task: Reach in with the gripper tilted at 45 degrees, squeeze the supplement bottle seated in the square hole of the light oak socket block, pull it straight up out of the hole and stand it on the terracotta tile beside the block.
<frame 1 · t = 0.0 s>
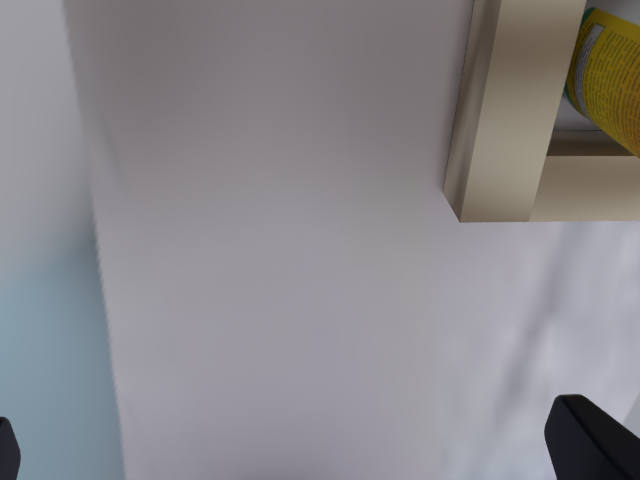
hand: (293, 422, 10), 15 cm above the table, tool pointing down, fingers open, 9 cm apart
socket block: (622, 48, 22), on the table
supplement bottle: (619, 47, 22), resting in socket block
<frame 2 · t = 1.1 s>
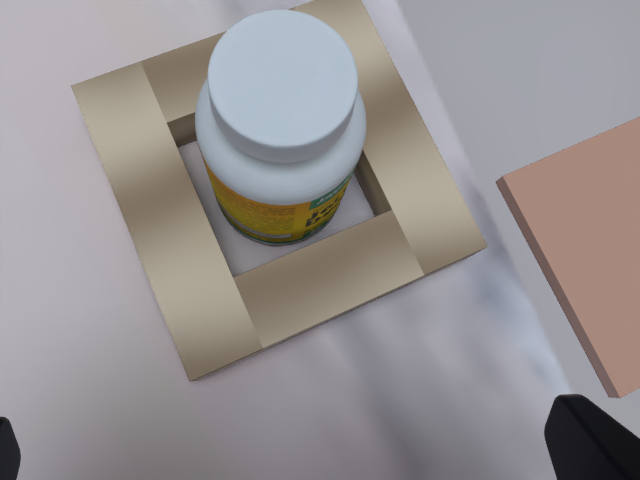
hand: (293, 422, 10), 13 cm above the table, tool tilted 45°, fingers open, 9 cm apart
socket block: (278, 186, 24), on the table
supplement bottle: (278, 188, 25), resting in socket block
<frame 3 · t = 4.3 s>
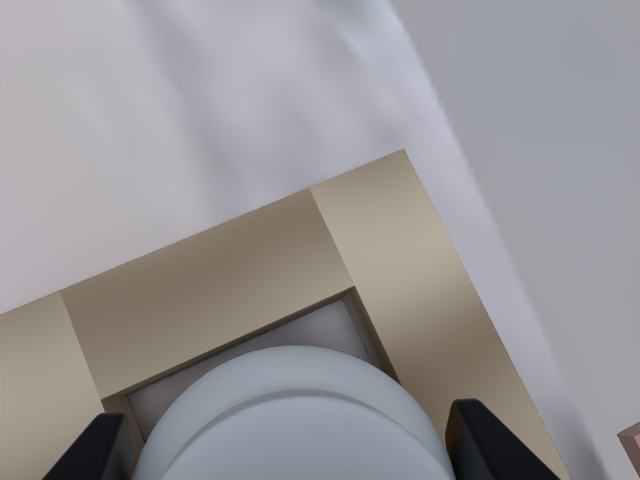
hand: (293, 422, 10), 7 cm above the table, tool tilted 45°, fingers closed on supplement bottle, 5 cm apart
socket block: (285, 456, 16), on the table
supplement bottle: (284, 455, 16), resting in socket block, touching gripper
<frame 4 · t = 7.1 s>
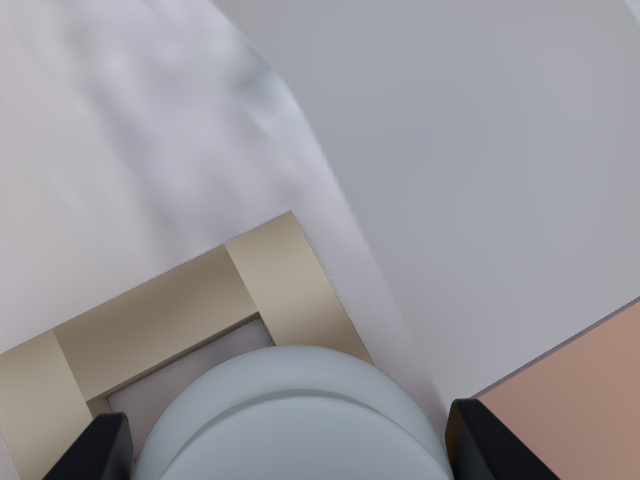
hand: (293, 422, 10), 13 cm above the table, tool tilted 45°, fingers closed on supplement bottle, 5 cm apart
socket block: (222, 433, 22), on the table
supplement bottle: (283, 453, 16), point 6 cm above the table, touching gripper
terracotta tile: (631, 453, 23), on the table
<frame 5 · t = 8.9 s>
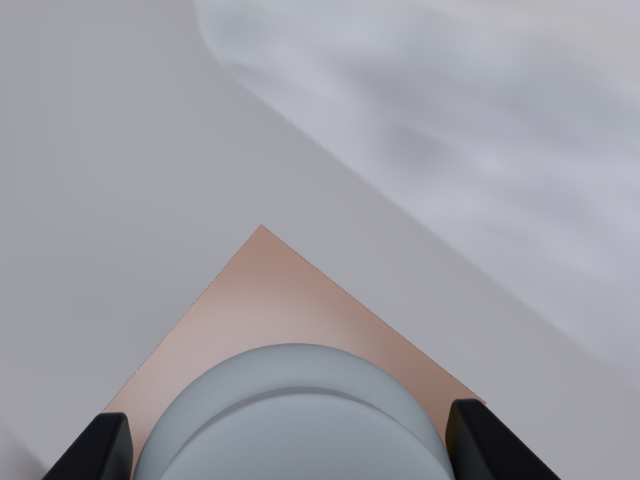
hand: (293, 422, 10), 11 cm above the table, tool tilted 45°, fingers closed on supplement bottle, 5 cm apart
supplement bottle: (285, 452, 16), point 4 cm above the table, touching gripper
terracotta tile: (281, 427, 20), on the table
when the fingers open (9 cm above the table, at t = 10.2 s): supplement bottle drops 1 cm, resting on terracotta tile.
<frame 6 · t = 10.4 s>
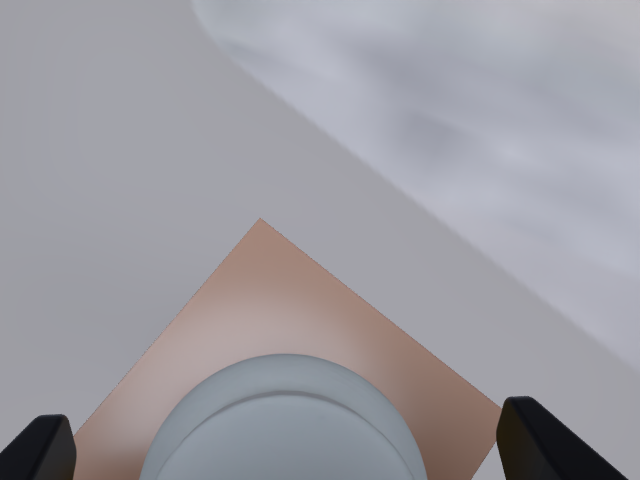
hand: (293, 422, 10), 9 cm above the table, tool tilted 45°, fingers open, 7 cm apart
supplement bottle: (284, 456, 17), point 1 cm above the table, touching terracotta tile
terracotta tile: (282, 445, 18), on the table
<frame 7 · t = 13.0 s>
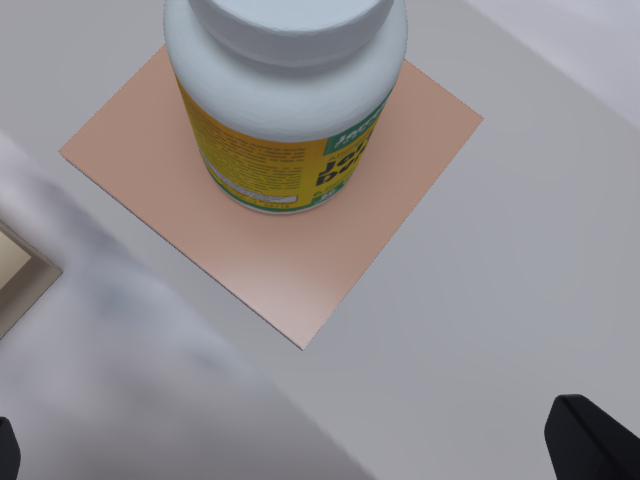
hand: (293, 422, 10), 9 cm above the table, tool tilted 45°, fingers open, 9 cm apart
supplement bottle: (280, 143, 19), point 1 cm above the table, touching terracotta tile
terracotta tile: (279, 143, 20), on the table
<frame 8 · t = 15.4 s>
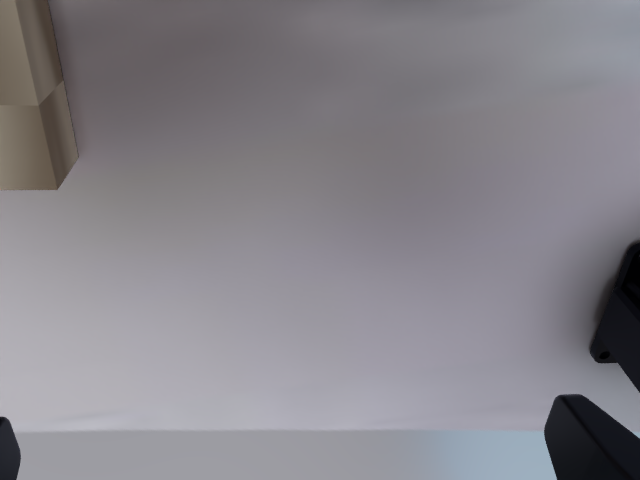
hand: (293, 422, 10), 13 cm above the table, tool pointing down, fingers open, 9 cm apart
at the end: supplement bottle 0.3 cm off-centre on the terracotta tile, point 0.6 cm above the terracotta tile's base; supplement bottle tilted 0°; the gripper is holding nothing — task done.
